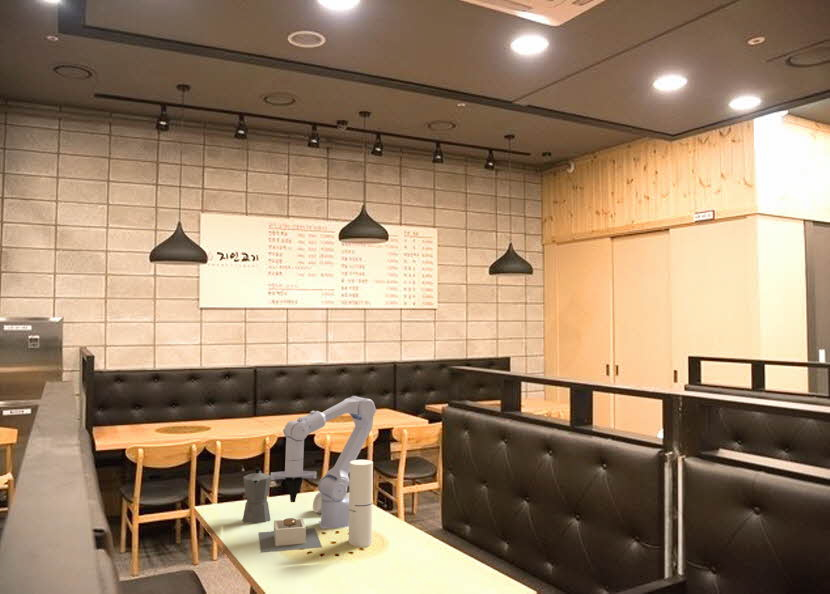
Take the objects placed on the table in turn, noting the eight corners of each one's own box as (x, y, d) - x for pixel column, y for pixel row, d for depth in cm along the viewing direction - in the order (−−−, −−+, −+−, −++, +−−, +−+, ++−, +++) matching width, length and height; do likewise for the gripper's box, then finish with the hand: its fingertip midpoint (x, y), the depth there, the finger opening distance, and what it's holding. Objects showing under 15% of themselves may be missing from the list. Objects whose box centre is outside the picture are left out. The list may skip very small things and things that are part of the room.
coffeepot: (268, 526, 215) (269, 472, 215) (239, 527, 214) (240, 472, 214) (272, 512, 230) (273, 461, 231) (245, 513, 229) (246, 462, 229)
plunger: (298, 532, 205) (299, 516, 205) (300, 539, 199) (301, 522, 199) (278, 534, 203) (278, 517, 204) (279, 541, 197) (279, 524, 197)
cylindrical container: (368, 548, 196) (369, 465, 197) (345, 546, 197) (346, 464, 198) (374, 540, 203) (375, 460, 204) (352, 538, 204) (353, 459, 205)
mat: (314, 529, 212) (314, 528, 212) (322, 549, 195) (322, 547, 195) (258, 534, 207) (258, 532, 207) (260, 554, 190) (260, 552, 190)
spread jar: (353, 510, 234) (354, 477, 235) (333, 518, 225) (334, 484, 225) (328, 504, 241) (328, 473, 241) (307, 512, 231) (308, 479, 231)
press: (302, 533, 207) (302, 518, 207) (305, 543, 198) (305, 527, 198) (273, 535, 204) (274, 520, 204) (275, 545, 196) (275, 529, 196)
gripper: (315, 455, 215) (313, 497, 214) (270, 456, 211) (268, 498, 210) (318, 460, 208) (316, 503, 207) (272, 461, 204) (270, 504, 203)
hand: (292, 501), depth 208 cm, fingers closed
